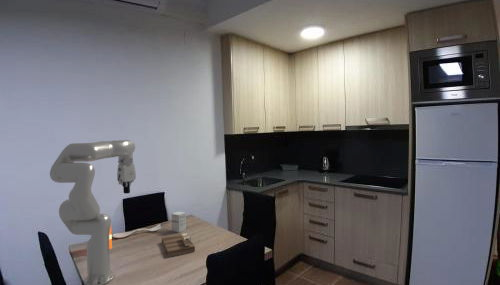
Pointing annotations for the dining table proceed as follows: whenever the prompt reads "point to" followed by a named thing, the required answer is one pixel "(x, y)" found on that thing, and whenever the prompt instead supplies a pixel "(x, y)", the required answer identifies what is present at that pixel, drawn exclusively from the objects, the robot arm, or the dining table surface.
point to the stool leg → (185, 239)
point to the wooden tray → (176, 245)
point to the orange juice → (110, 239)
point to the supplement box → (178, 221)
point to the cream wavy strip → (121, 235)
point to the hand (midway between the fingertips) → (126, 193)
